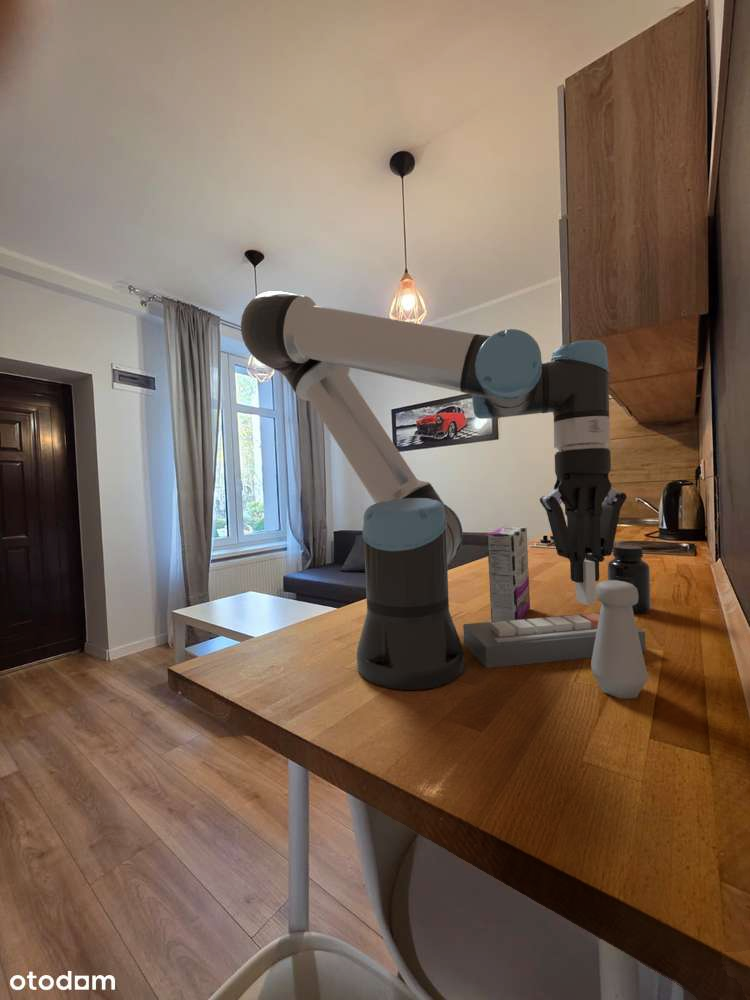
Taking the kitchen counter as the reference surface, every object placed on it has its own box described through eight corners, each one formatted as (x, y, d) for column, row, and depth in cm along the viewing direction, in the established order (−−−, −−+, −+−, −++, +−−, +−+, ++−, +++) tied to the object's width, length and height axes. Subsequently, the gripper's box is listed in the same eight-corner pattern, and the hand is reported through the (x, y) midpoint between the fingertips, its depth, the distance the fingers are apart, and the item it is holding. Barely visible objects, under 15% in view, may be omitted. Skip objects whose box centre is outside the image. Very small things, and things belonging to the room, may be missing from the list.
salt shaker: (660, 702, 44) (658, 588, 43) (608, 704, 44) (606, 590, 44) (627, 677, 50) (625, 575, 49) (582, 678, 50) (579, 577, 49)
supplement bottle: (660, 612, 73) (658, 548, 72) (630, 616, 71) (628, 551, 71) (628, 601, 80) (626, 543, 79) (600, 605, 78) (598, 545, 78)
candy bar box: (505, 605, 81) (502, 526, 80) (530, 608, 78) (528, 526, 77) (489, 622, 71) (485, 533, 71) (517, 626, 69) (514, 533, 68)
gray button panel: (486, 668, 54) (485, 639, 54) (464, 642, 63) (463, 618, 63) (645, 652, 57) (644, 624, 57) (602, 629, 66) (601, 606, 65)
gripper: (555, 447, 55) (560, 613, 56) (640, 444, 56) (643, 606, 57) (528, 452, 62) (532, 599, 63) (603, 449, 64) (607, 593, 65)
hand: (585, 602), depth 60 cm, fingers closed
